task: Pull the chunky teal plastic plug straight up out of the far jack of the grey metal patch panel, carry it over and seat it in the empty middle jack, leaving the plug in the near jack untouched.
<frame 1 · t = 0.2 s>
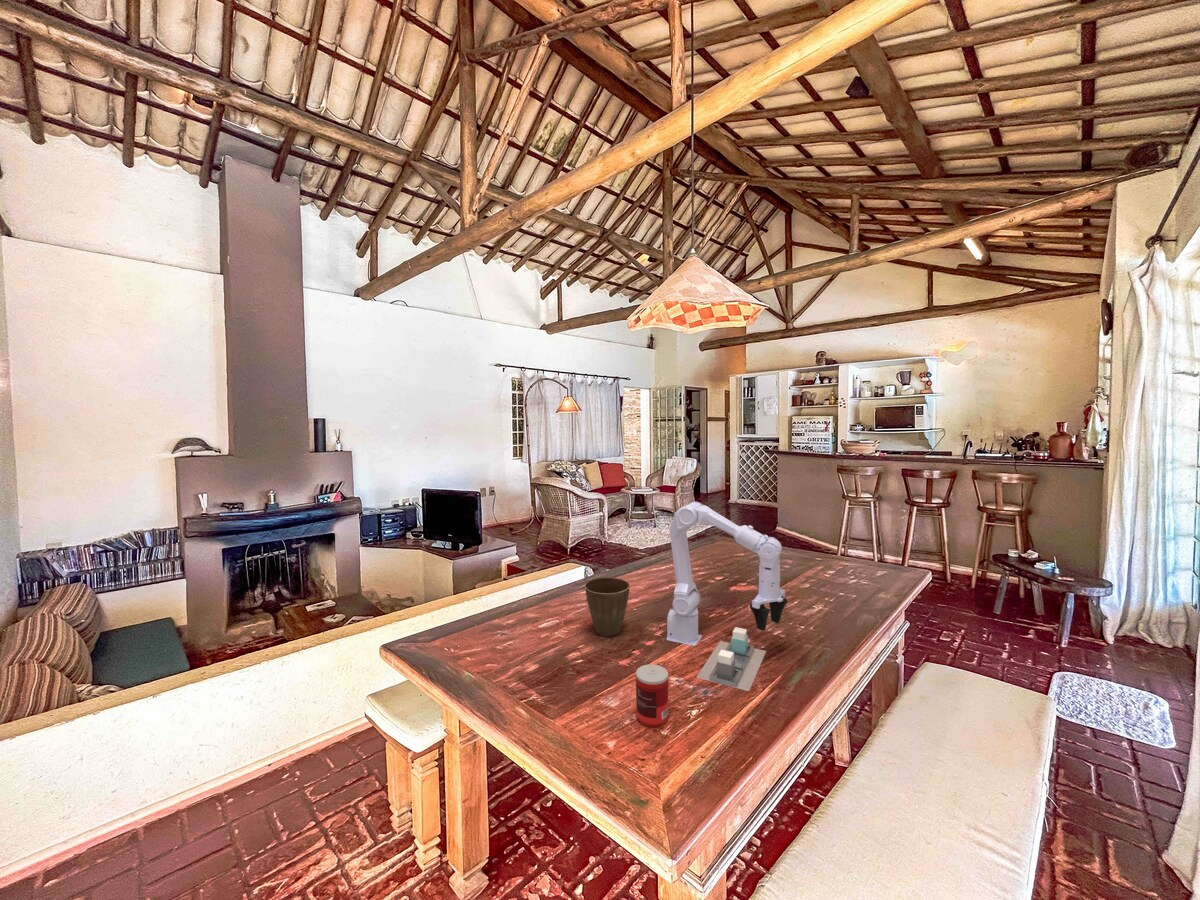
hand: (768, 625, 140), 10 cm above the table, fingers open, 7 cm apart
plug: (739, 651, 144), resting on patch panel
patch panel: (733, 665, 137), on the table
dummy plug: (725, 676, 130), resting on patch panel
plant pot: (607, 632, 159), on the table
canned food: (652, 718, 114), on the table
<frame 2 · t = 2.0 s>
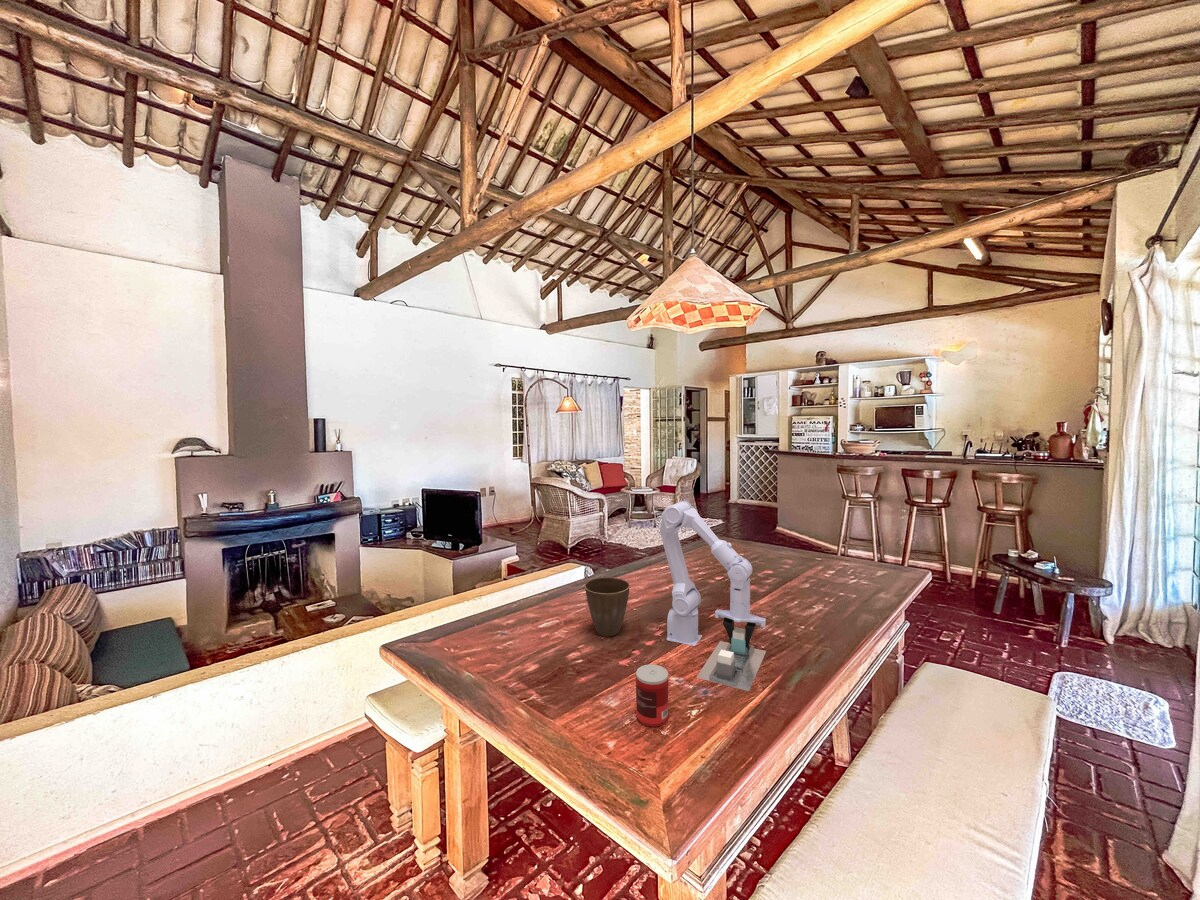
hand: (739, 644, 144), 3 cm above the table, fingers closed on plug, 4 cm apart
plug: (739, 651, 144), resting on patch panel, touching gripper
everything else where it was.
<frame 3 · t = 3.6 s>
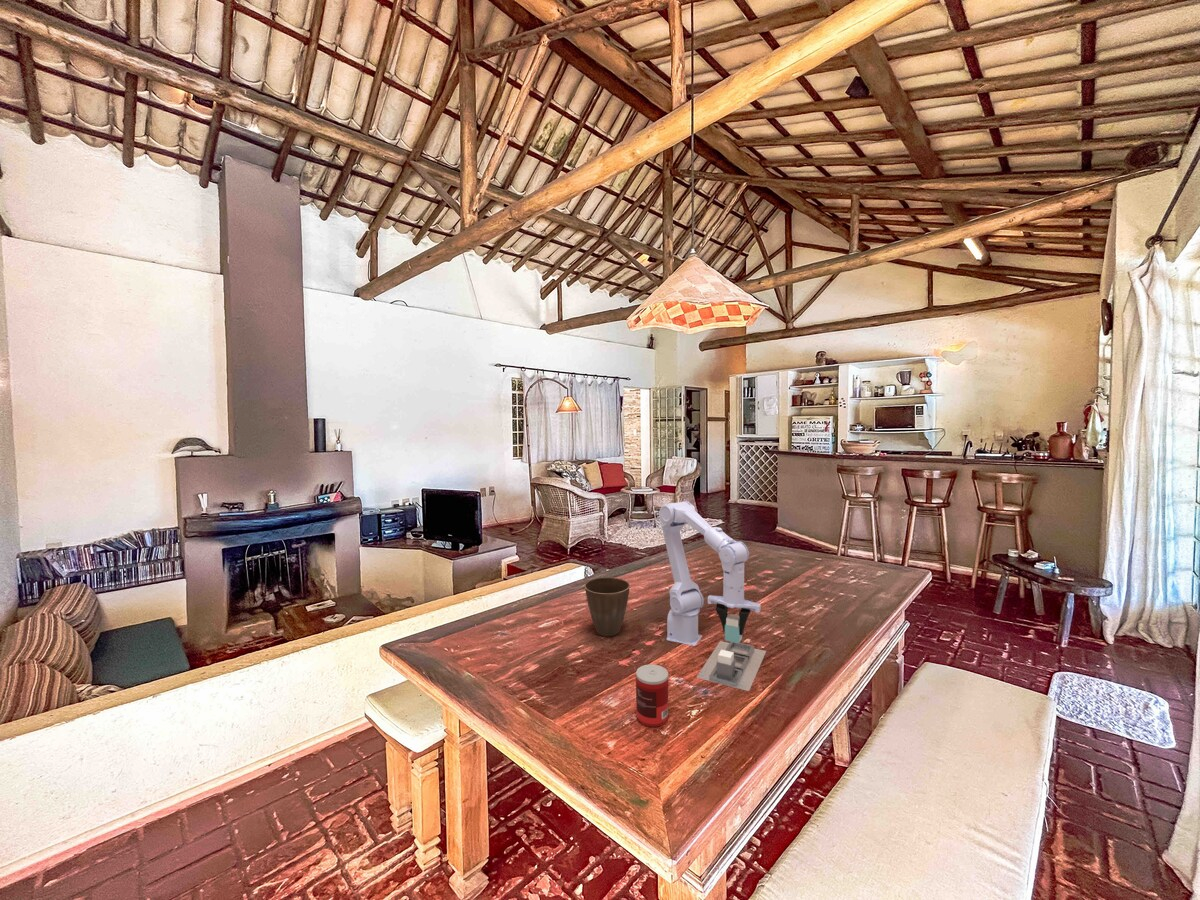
hand: (733, 631, 136), 10 cm above the table, fingers closed on plug, 4 cm apart
plug: (733, 639, 137), point 8 cm above the table, touching gripper
everything else where it was.
when the fingers open (3 cm above the table, at t = 5.2 s): plug stays where it is, resting on patch panel.
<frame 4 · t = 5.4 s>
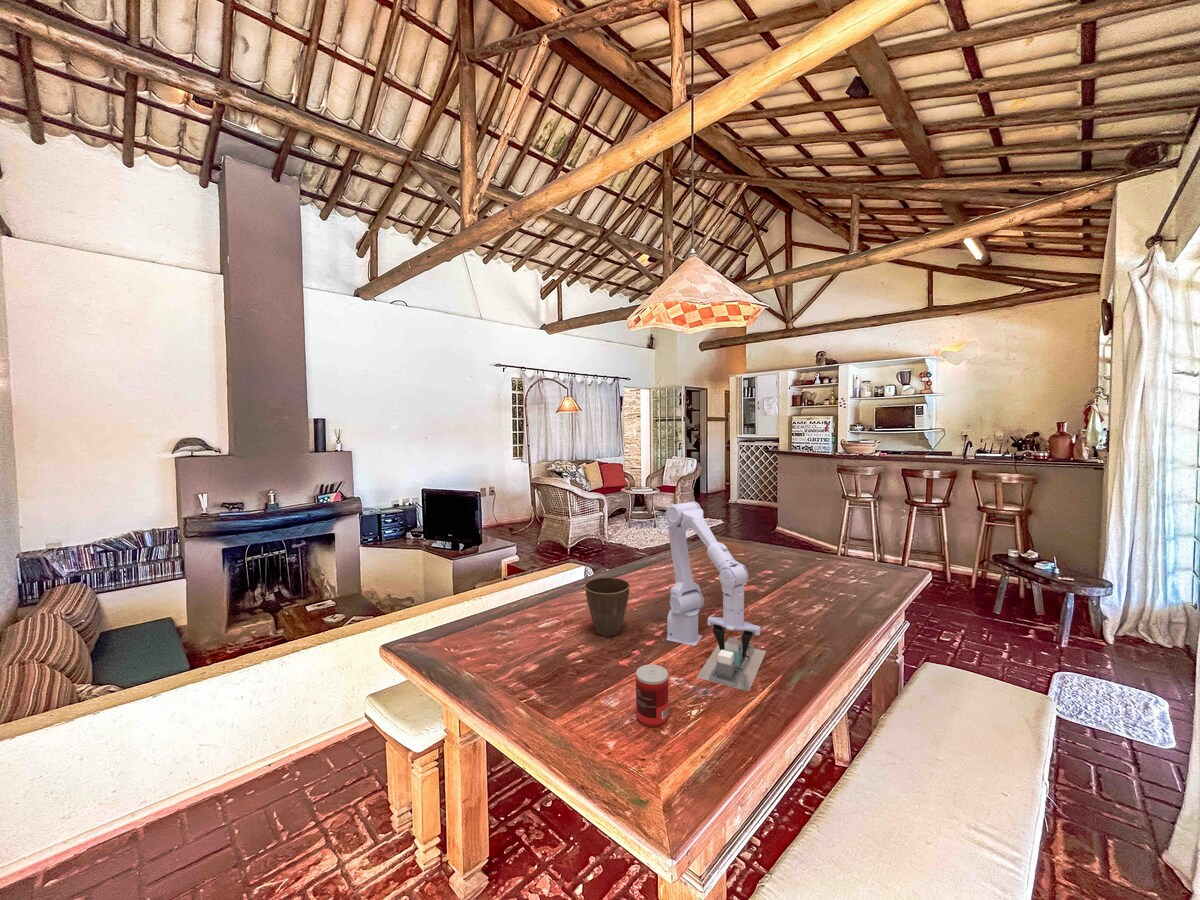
hand: (733, 653, 137), 3 cm above the table, fingers open, 6 cm apart
plug: (733, 663, 137), resting on patch panel
everything else where it was.
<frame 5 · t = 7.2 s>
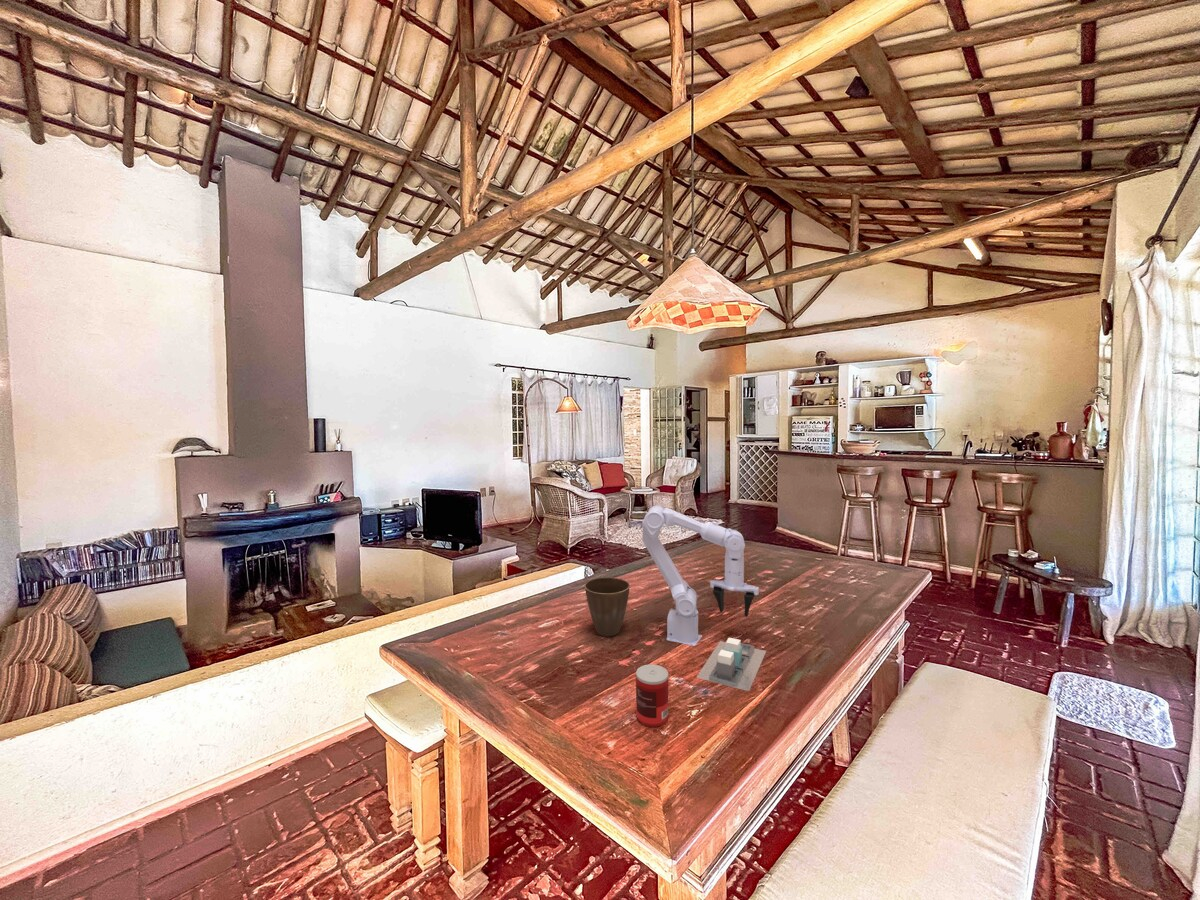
hand: (733, 613, 149), 10 cm above the table, fingers open, 7 cm apart
nothing on the table moved.
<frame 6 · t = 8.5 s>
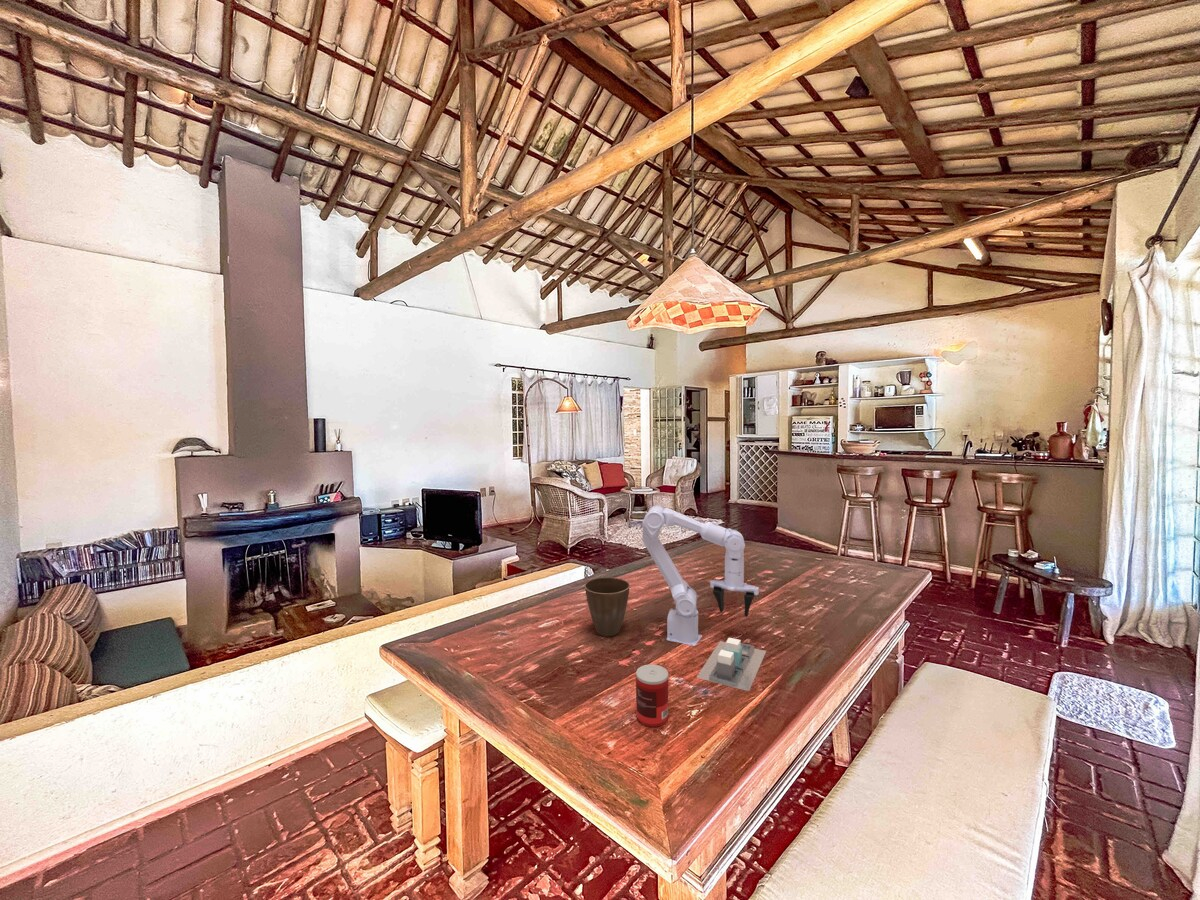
hand: (733, 613, 149), 10 cm above the table, fingers open, 7 cm apart
nothing on the table moved.
at the end: plug 0.2 cm off-centre on the patch panel, point 0.5 cm above the patch panel's base; plug tilted 0°; the gripper is holding nothing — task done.
